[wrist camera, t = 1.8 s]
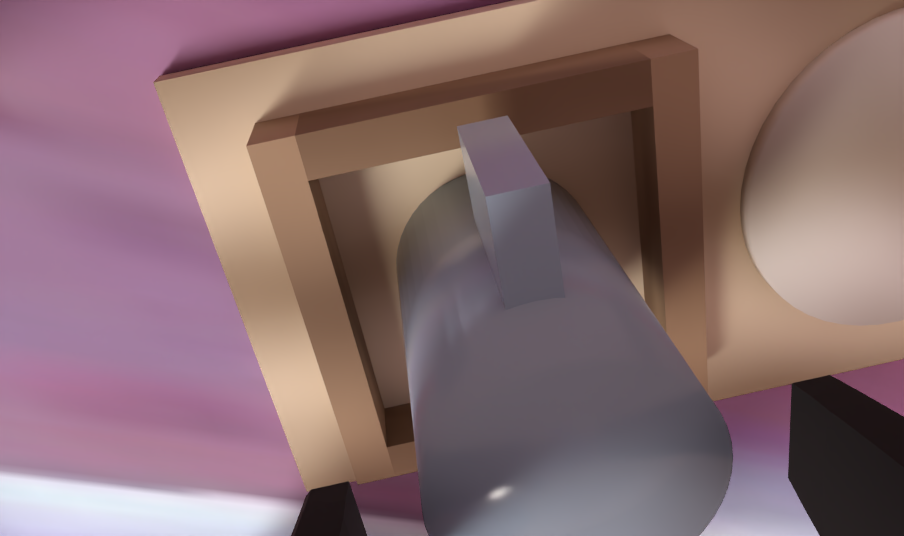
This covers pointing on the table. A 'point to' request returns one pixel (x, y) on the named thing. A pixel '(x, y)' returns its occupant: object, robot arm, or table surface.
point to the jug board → (575, 169)
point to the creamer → (543, 367)
